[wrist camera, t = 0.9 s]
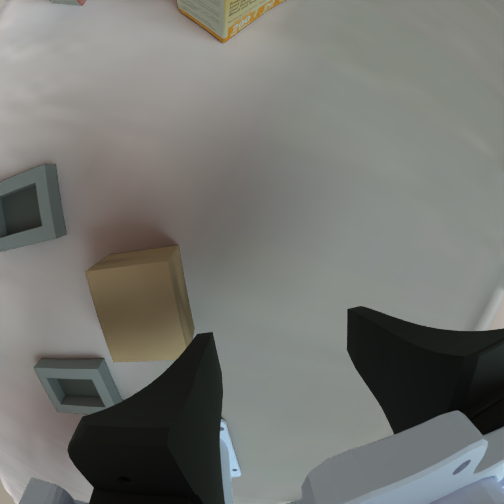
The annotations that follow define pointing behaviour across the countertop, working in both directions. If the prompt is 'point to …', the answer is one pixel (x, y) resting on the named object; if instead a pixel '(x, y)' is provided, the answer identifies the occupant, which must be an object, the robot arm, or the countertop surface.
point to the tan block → (142, 304)
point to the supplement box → (225, 14)
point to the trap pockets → (38, 230)
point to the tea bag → (69, 2)
